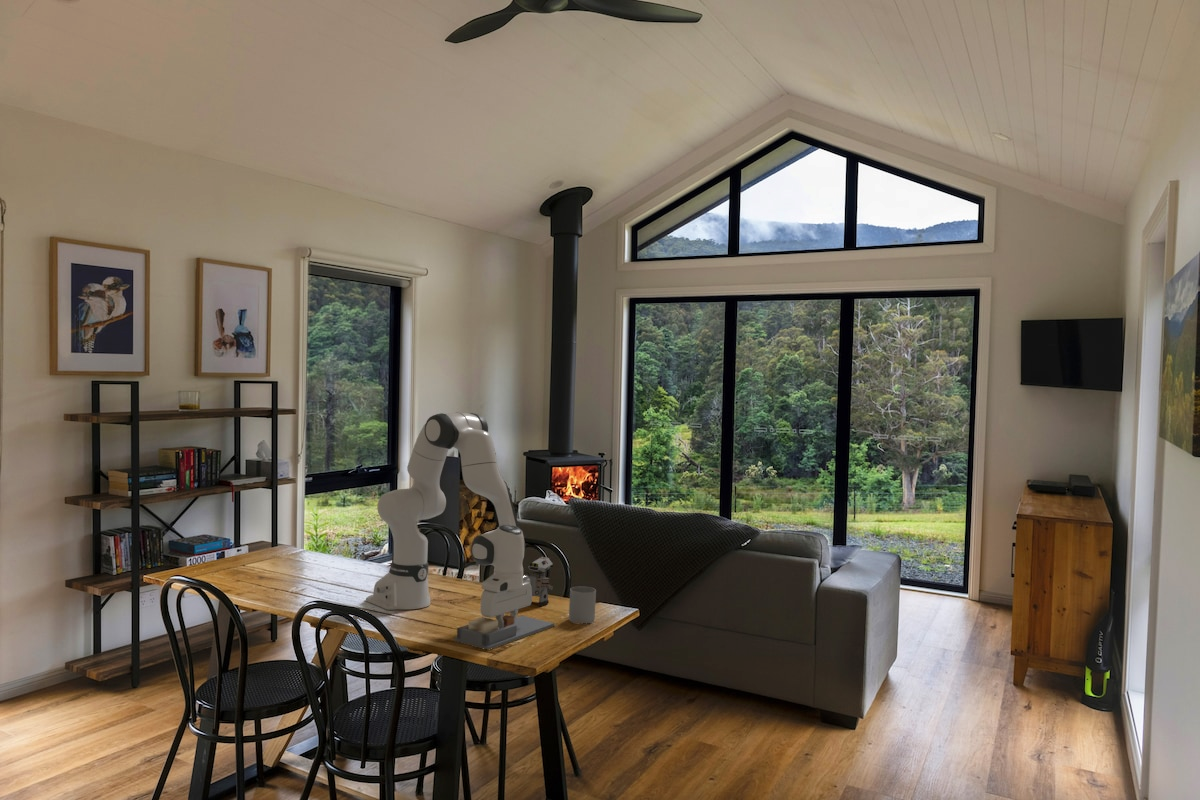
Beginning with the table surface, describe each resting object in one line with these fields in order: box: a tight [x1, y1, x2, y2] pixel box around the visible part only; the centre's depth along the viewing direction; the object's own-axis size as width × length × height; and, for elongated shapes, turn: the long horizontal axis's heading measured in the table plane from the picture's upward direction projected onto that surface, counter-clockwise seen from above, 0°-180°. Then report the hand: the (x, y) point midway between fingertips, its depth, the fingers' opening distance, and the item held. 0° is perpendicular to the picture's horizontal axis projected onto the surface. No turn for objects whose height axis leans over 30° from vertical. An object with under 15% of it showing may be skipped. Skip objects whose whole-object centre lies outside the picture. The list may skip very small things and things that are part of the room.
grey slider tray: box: [453, 615, 555, 651], centre depth 246 cm, size 13×31×4 cm, turn 146°
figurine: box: [523, 556, 554, 607], centre depth 284 cm, size 9×12×15 cm
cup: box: [568, 585, 597, 625], centre depth 264 cm, size 8×8×10 cm
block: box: [468, 614, 514, 633], centre depth 241 cm, size 6×15×5 cm, turn 146°
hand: (506, 625), depth 246 cm, fingers closed on block, 3 cm apart
